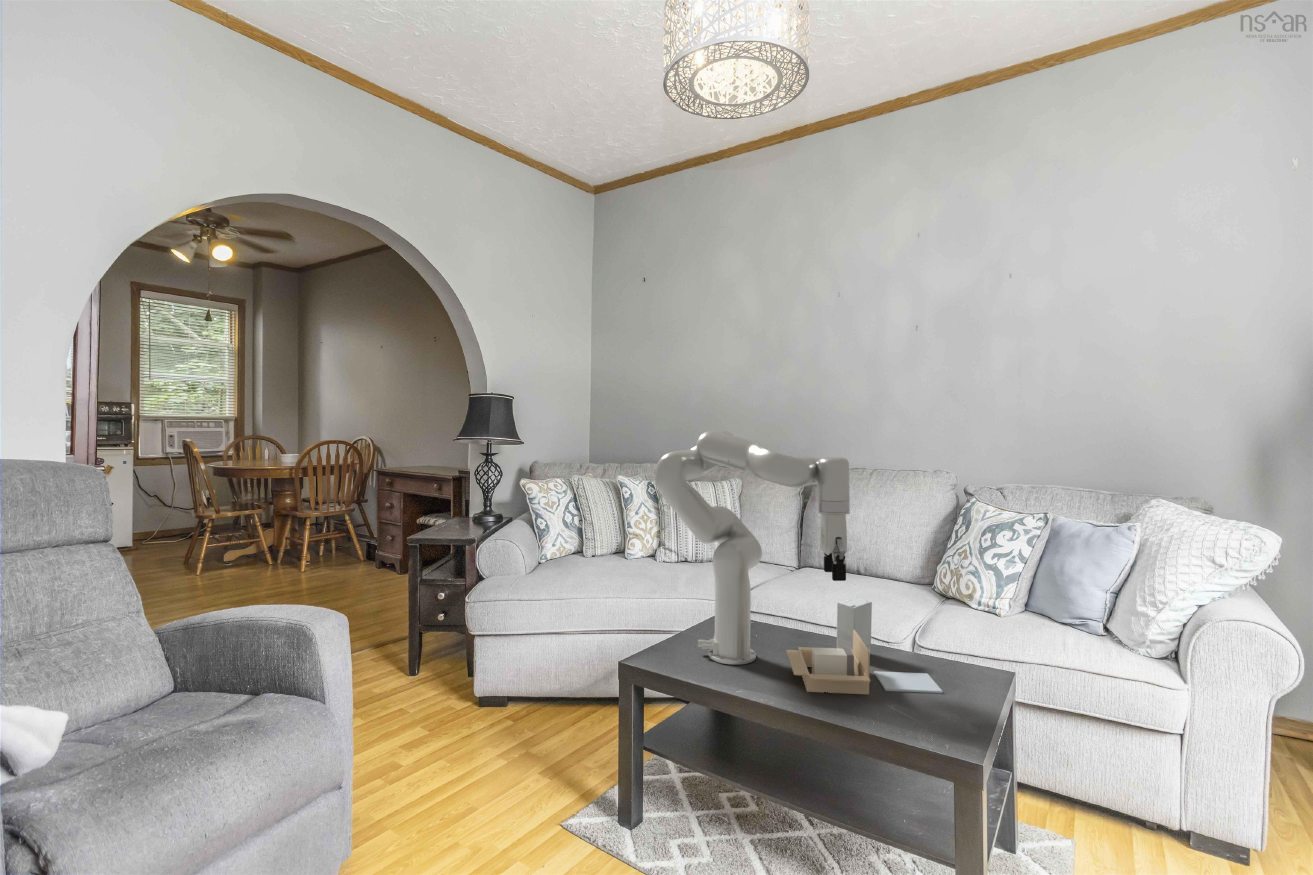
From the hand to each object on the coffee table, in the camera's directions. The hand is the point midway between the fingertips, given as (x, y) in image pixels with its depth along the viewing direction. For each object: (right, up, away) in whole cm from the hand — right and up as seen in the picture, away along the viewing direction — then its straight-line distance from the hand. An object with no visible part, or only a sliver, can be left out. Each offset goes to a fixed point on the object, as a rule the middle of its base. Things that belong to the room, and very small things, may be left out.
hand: (834, 576), depth 163 cm
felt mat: (+17, -25, -3) cm, 31 cm away
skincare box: (+9, -25, +16) cm, 31 cm away
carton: (-3, -25, -1) cm, 25 cm away
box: (-1, -25, -2) cm, 25 cm away
